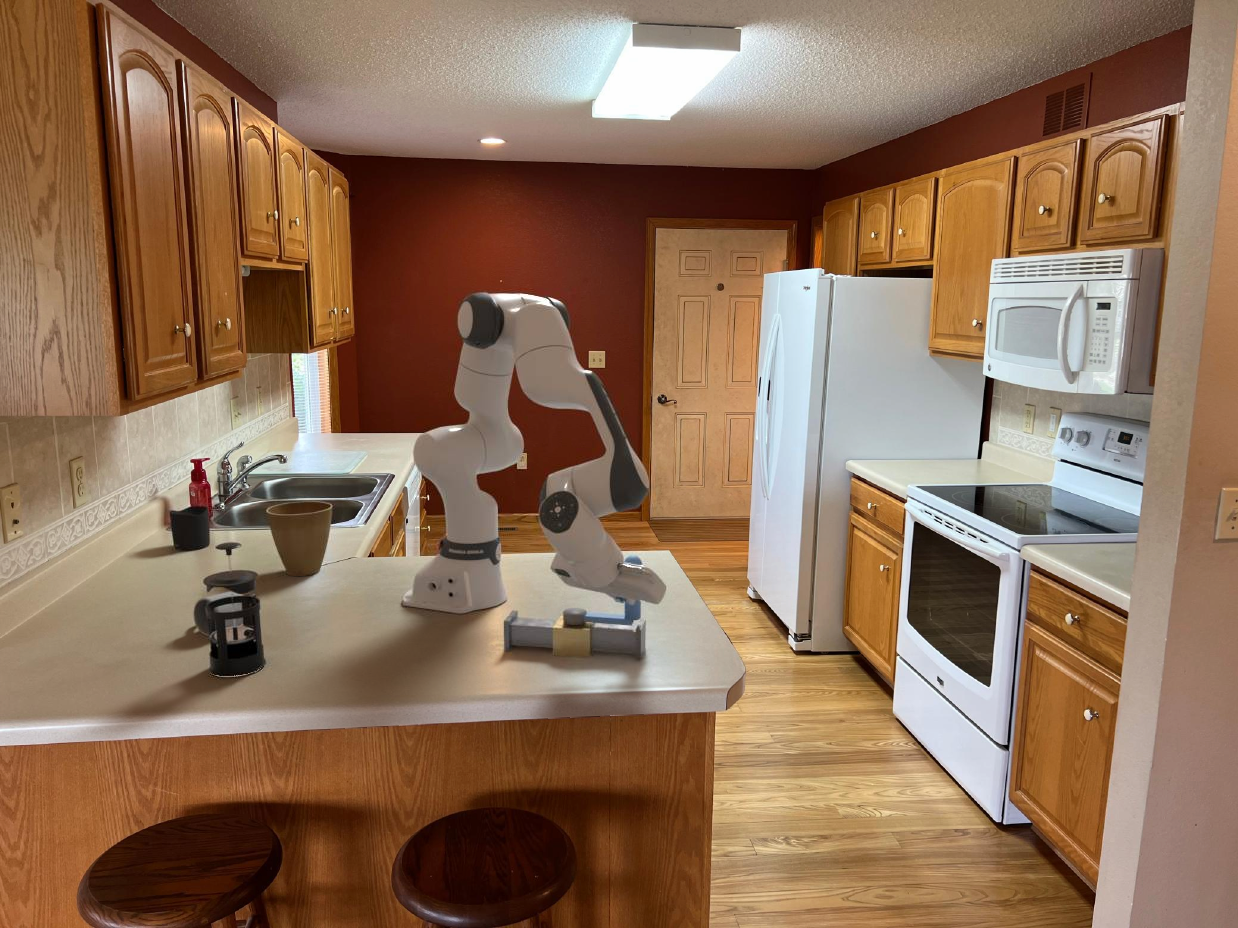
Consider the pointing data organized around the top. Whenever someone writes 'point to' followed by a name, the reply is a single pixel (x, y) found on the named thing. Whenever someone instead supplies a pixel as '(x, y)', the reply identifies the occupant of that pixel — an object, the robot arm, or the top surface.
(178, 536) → the pen holder
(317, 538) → the plant pot
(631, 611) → the lever
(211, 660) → the french press
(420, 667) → the top surface
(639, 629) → the valve pipe
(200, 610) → the ceramic mug
